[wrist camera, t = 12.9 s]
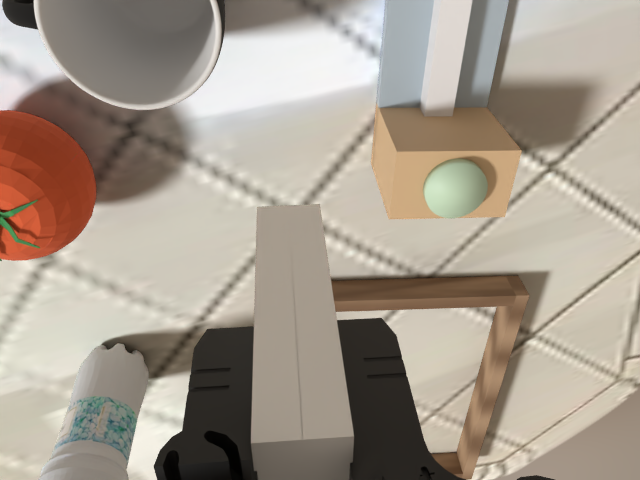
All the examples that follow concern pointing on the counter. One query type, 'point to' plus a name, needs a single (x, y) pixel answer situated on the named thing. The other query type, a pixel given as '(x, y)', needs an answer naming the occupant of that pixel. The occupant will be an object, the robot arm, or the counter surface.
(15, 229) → the tomato
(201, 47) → the mug
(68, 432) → the bottle
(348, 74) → the counter surface
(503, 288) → the wooden frame
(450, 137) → the rail
